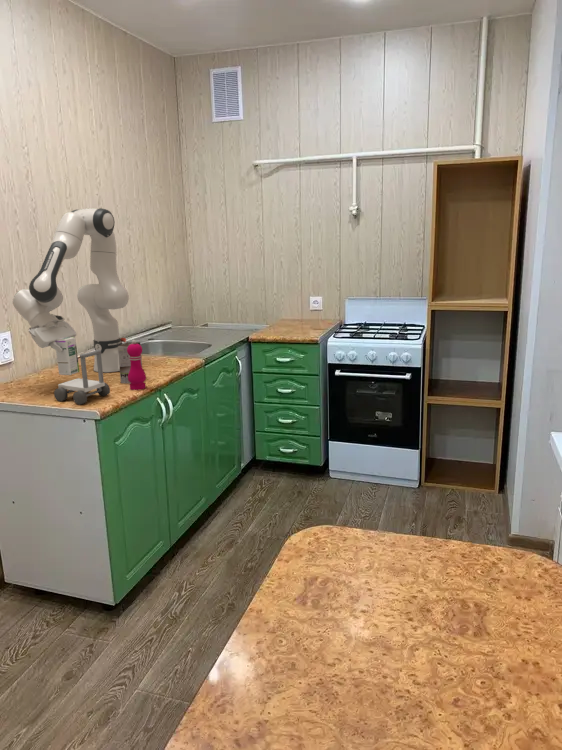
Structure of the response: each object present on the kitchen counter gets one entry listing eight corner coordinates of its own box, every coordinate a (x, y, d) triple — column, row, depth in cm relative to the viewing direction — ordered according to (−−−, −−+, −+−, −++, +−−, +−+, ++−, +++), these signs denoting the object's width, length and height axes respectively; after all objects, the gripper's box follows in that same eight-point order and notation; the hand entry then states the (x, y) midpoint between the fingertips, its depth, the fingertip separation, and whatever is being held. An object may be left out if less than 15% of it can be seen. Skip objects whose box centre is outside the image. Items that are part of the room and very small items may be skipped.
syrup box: (70, 375, 230) (66, 339, 227) (58, 374, 232) (54, 338, 229) (79, 372, 236) (76, 336, 232) (67, 371, 237) (63, 336, 234)
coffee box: (134, 383, 244) (131, 346, 240) (120, 383, 245) (116, 345, 241) (143, 378, 253) (140, 341, 249) (130, 377, 254) (126, 341, 250)
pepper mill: (131, 385, 241) (127, 338, 236) (148, 385, 241) (145, 338, 236) (126, 390, 234) (122, 341, 229) (144, 390, 234) (140, 341, 229)
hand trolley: (82, 391, 234) (77, 345, 230) (110, 395, 228) (106, 348, 223) (54, 400, 222) (49, 352, 218) (83, 405, 216) (78, 356, 211)
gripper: (30, 322, 221) (54, 349, 220) (65, 315, 240) (87, 340, 239) (22, 334, 223) (46, 360, 223) (56, 325, 242) (79, 350, 242)
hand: (67, 349), depth 231 cm, fingers closed on syrup box, 6 cm apart
